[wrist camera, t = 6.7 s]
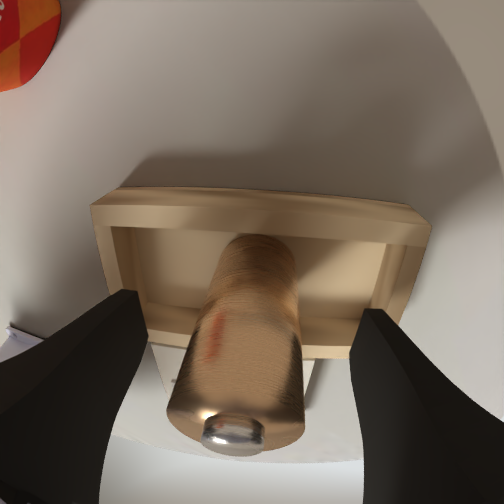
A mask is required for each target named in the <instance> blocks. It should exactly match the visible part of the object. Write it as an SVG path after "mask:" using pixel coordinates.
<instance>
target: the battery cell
mask: <svg viewBox="0 0 504 504" xmlns="http://www.w3.org/2000/svg"><path fill="white" fill-rule="evenodd" d="M166 411H167V417H168V419H169V421H170V422H171V423H172V425H173V426H174V427H175V428H176V429H178V430H179V431H180V432H182V433H183V434H185V435H186V436H188V437H190V438H192V439H194V440H196V441H198V442H200V443H202V445H203V446H204V447H206V448H208V449H209V450H211V451H214V452H217V453H220V454H224V455H229V456H252V455H256V454H259V453H261V452H262V451H269V450H274V449H279V448H282V447H285V446H287V445H290V444H292V443H293V442H295V441H296V440H298V439H299V438H300V437H301V436H302V435H303V433H304V430H305V406H304V378H303V357H302V339H301V323H300V308H299V295H298V282H297V270H296V262H295V259H294V256H293V254H292V253H291V251H290V250H289V249H288V247H287V246H286V245H284V244H283V243H282V242H281V241H279V240H277V239H275V238H273V237H270V236H267V235H262V234H250V235H245V236H241V237H239V238H237V239H235V240H233V241H232V242H230V243H229V244H228V245H227V246H226V247H225V248H224V250H223V251H222V253H221V256H220V258H219V261H218V264H217V266H216V269H215V272H214V274H213V277H212V280H211V282H210V285H209V288H208V291H207V293H206V296H205V299H204V302H203V304H202V307H201V310H200V313H199V316H198V318H197V321H196V324H195V327H194V330H193V332H192V335H191V338H190V341H189V344H188V347H187V350H186V353H185V355H184V358H183V361H182V364H181V367H180V370H179V373H178V376H177V379H176V382H175V385H174V388H173V391H172V394H171V397H170V400H169V403H168V406H167V409H166Z"/></svg>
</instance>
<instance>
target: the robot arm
mask: <svg viewBox="0 0 504 504" xmlns="http://www.w3.org/2000/svg"><path fill="white" fill-rule="evenodd" d="M6 332H7V334H8V335H9V338H8V339H7V340H6V341H5V343H4V344H3V345H2V346H1V348H0V504H99V491H100V483H101V476H102V469H103V464H104V459H105V455H106V450H107V446H108V442H109V438H110V435H111V431H112V428H113V424H114V421H115V418H116V416H117V413H118V411H119V408H120V406H121V404H122V402H123V399H124V397H125V395H126V393H127V391H128V388H129V386H130V384H131V382H132V380H133V378H134V375H135V373H136V371H137V369H138V367H139V364H140V362H141V359H142V356H143V353H144V350H145V347H146V344H147V340H148V337H149V335H148V331H147V327H146V324H145V320H144V316H143V312H142V308H141V304H140V299H139V295H138V291H135V290H128V289H120V290H119V291H117V292H115V293H114V294H112V295H111V296H109V297H108V298H106V299H105V300H103V301H102V302H100V303H99V304H97V305H96V306H95V307H93V308H92V309H90V310H89V311H87V312H86V313H84V314H83V315H82V316H80V317H79V318H77V319H76V320H74V321H73V322H71V323H70V324H68V325H67V326H65V327H64V328H62V329H61V330H59V331H58V332H56V333H55V334H53V335H52V336H50V337H49V338H47V339H45V340H43V339H40V338H38V337H35V336H32V335H30V334H27V333H24V332H22V331H19V330H17V329H15V328H12V327H10V326H8V327H7V328H6ZM349 360H350V372H351V382H352V387H353V392H354V397H355V402H356V407H357V412H358V417H359V423H360V428H361V434H362V440H363V450H364V496H363V504H504V422H502V421H501V420H499V419H498V418H496V417H495V416H493V415H492V414H490V413H489V412H488V411H486V410H485V409H484V408H482V407H481V406H480V405H478V404H477V403H476V402H474V401H473V400H472V399H471V398H469V397H468V396H467V395H466V394H465V393H464V392H462V391H461V390H460V389H459V388H458V387H457V386H456V385H454V384H453V383H452V382H451V381H450V380H449V379H448V378H447V377H446V376H445V375H444V374H443V373H442V372H441V371H440V370H439V369H438V368H437V367H436V366H435V365H434V364H433V363H432V362H431V361H430V360H429V359H428V358H427V357H426V356H425V355H424V354H423V352H422V351H421V350H420V349H419V348H418V347H417V346H416V345H415V344H414V343H413V342H412V340H411V339H410V338H409V337H408V336H407V335H406V334H405V333H404V332H403V331H402V329H401V328H400V327H399V326H398V325H397V324H396V323H395V322H394V321H393V320H392V318H391V317H390V316H389V315H388V314H387V313H386V312H385V311H384V310H383V309H374V308H364V311H363V314H362V317H361V320H360V323H359V326H358V329H357V332H356V335H355V338H354V341H353V343H352V346H351V349H350V351H349Z"/></svg>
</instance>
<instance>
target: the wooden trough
mask: <svg viewBox="0 0 504 504" xmlns="http://www.w3.org/2000/svg"><path fill="white" fill-rule="evenodd" d="M90 209H91V215H92V221H93V226H94V231H95V236H96V241H97V246H98V250H99V254H100V259H101V263H102V267H103V271H104V275H105V279H106V282H107V286H108V290H109V293H110V296H111V295H112V294H114V293H115V292H117V291H119V290H120V289H128V290H135V291H138V295H139V299H140V304H141V308H142V312H143V316H144V320H145V324H146V327H147V331H148V335H149V337H148V340H147V341H151V342H156V343H162V344H168V345H175V346H181V347H188V344H189V341H190V338H191V335H192V332H193V330H194V327H195V324H196V321H197V318H198V316H199V313H200V310H201V307H202V304H203V302H204V299H205V296H206V293H207V291H208V288H209V285H210V282H211V280H212V277H213V274H214V272H215V269H216V266H217V264H218V261H219V258H220V256H221V253H222V251H223V250H224V248H225V247H226V246H227V245H228V244H229V243H230V242H232V241H233V240H235V239H237V238H239V237H241V236H245V235H250V234H262V235H267V236H270V237H273V238H275V239H277V240H279V241H281V242H282V243H283V244H284V245H286V246H287V247H288V249H289V250H290V251H291V253H292V254H293V256H294V259H295V262H296V270H297V282H298V295H299V308H300V323H301V339H302V357H303V358H349V351H350V349H351V346H352V343H353V341H354V338H355V335H356V332H357V329H358V326H359V323H360V320H361V317H362V314H363V311H364V308H374V309H383V310H384V311H385V312H386V313H387V314H388V315H389V316H390V317H391V318H392V320H393V321H394V322H395V323H396V324H397V325H398V324H399V322H400V319H401V317H402V314H403V312H404V309H405V307H406V304H407V302H408V299H409V297H410V294H411V291H412V289H413V286H414V283H415V280H416V277H417V274H418V272H419V269H420V266H421V262H422V259H423V256H424V253H425V250H426V246H427V243H428V239H429V236H430V232H431V229H432V226H431V225H430V224H429V223H428V222H427V221H426V220H425V219H424V218H422V217H421V216H420V215H419V214H418V213H417V212H416V211H415V210H414V209H412V208H411V207H410V206H409V205H406V204H399V203H392V202H384V201H376V200H368V199H360V198H351V197H341V196H332V195H321V194H310V193H298V192H284V191H269V190H252V189H230V188H199V187H119V188H116V189H115V190H113V191H112V192H110V193H108V194H107V195H105V196H103V197H102V198H100V199H99V200H97V201H95V202H94V203H92V204H91V205H90Z"/></svg>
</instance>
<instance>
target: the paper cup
mask: <svg viewBox="0 0 504 504" xmlns="http://www.w3.org/2000/svg"><path fill="white" fill-rule="evenodd" d="M60 21H61V6H60V3H59V0H0V92H3V91H7V90H11V89H14V88H17V87H20V86H22V85H24V84H26V83H27V82H28V81H29V80H31V79H32V78H33V77H34V76H35V75H36V73H37V72H38V71H39V70H40V68H41V67H42V65H43V64H44V62H45V61H46V59H47V57H48V56H49V54H50V52H51V50H52V47H53V45H54V43H55V40H56V37H57V34H58V31H59V27H60Z"/></svg>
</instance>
